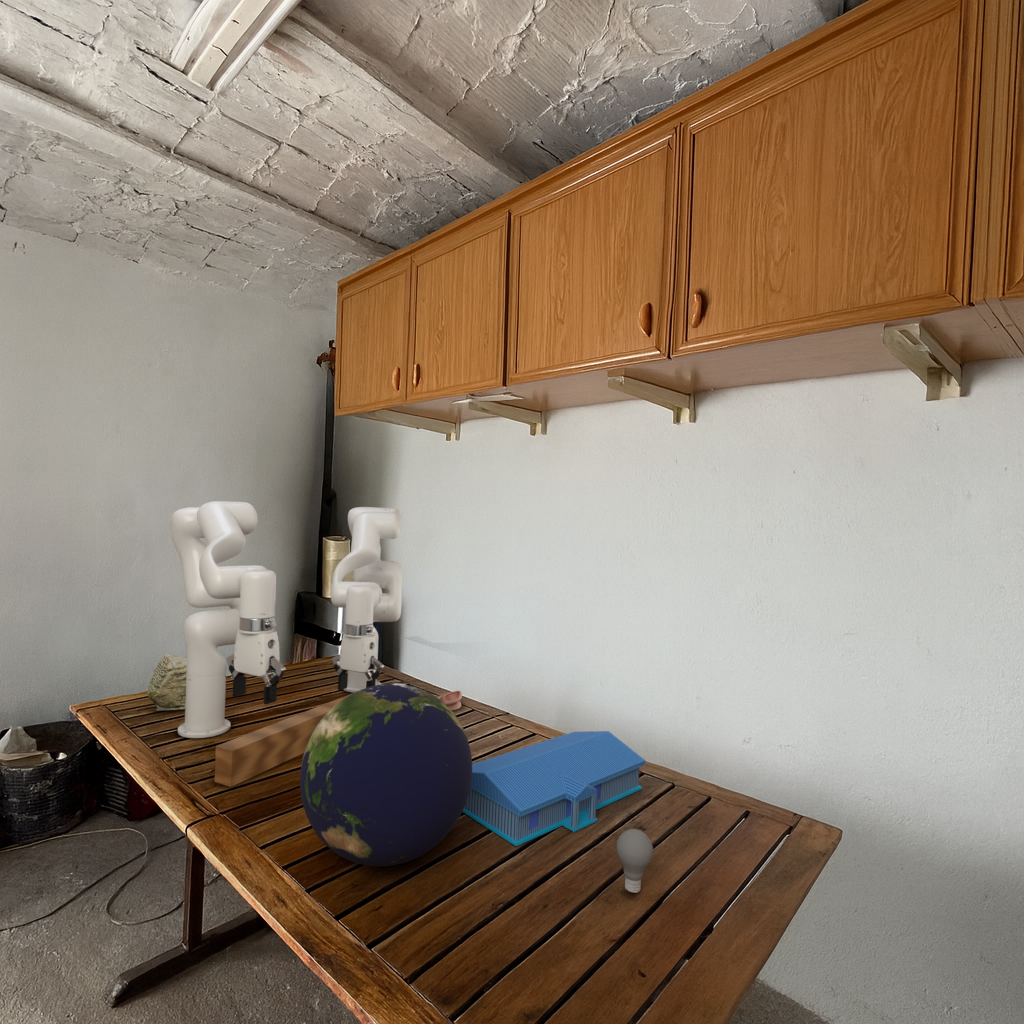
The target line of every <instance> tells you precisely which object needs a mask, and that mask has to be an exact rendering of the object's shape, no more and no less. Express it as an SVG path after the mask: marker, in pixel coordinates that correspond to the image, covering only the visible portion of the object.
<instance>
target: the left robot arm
mask: <svg viewBox="0 0 1024 1024" xmlns="http://www.w3.org/2000/svg"><path fill="white" fill-rule="evenodd" d="M258 517H259V516H258V512H257V510H256V508H255V507H254V506H253V505H252V504H251V503H249V502H246V501H230V500H229V501H227V500H213V501H208V502H205V503H203V504H202V505H200V506H191V507H184V508H183V507H182V508H179V509H177V510H176V511H174V512H173V514H172V515H171V517H170V523H169V524H170V526H169V527H170V529H169V530H170V536H171V540H172V543H173V546H174V548H175V551H176V552H177V554H178V556H179V559H180V561H181V562H180V563H181V571H182V578H183V585H184V593H185V598H186V602H187V603H188V605H189V606H190V607H192V608H195V609H200V608H201V609H204V608H205V609H206V608H207V609H208V608H219V607H221V608H222V607H229V608H227V609H226V608H225V609H212V610H203V611H198V612H194V613H192V614H190V615H189V616H187V618H186V619H185V620H184V623H183V635H184V641H185V642H184V643H185V651H186V652H185V653H186V657H187V668H186V701H185V709H184V722H182V724H180V725H179V726H178V727H177V734H178V735H179V736H180V737H182V738H188V739H207V738H212V737H216V736H220V735H222V734H224V733H227V732H228V731H230V729H231V727H232V725H231V723H232V722H231V721H230V720H228V719H226V718H225V715H226V692H227V691H226V689H227V665H228V670H229V672H230V674H231V675H230V678H231V679H232V697H233V698H236V697H239V696H243V695H245V694H246V692H247V691H246V690H247V676H245V675H248V676H253V677H259V678H262V680H263V681H264V683H265V685H266V686H265V685H264V687H263V705H270V704H272V703H275V702H276V701H277V696H278V695H277V693H278V692H277V691H278V685H280V682H281V681H282V680H283V678H284V675H285V674H286V670H287V669H286V667H285V665H284V664H282V663H281V661H280V660H281V658H280V640H279V636H278V631H277V630H275V628H276V626H277V622H276V598H277V575H276V573H275V571H273V570H271V569H268V568H266V566H263V565H260V564H259V565H258V564H257V565H256V564H254V565H253V564H252V565H224V566H221V565H220V566H219V564H221V563H223V562H226V561H229V560H230V559H233V558H234V557H237V556H238V555H240V553H241V552H243V550H244V549H245V547H246V542H247V539H246V536H247V535H251V533H253V532H254V531H256V529H257V526H258V522H259V518H258ZM201 539H205V542H206V543H207V544H205V543H204V542H203V541H202V540H201ZM230 645H231V646H232V645H234V652H233V654H231V655H230V656H229V655H228V656H227V657H226V659H225V657H224V656H223V655H222V653H220V651H218V647H223V646H224V647H225V646H230Z"/></svg>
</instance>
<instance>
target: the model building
mask: <svg viewBox="0 0 1024 1024" xmlns="http://www.w3.org/2000/svg"><path fill="white" fill-rule="evenodd" d="M645 765H646V759H644V758H643V757H642V756H640V755H639V754H638V753H637V752H636V751H634V750H633V749H632V748H631V747H629V746H628V745H627V744H625V742H623V741H622V740H620V739H619V738H618V737H617V736H616V735H614V734H613V733H612V732H610V731H609V730H595V731H593V730H592V731H591V730H590V731H572V732H569V733H566V734H563V735H560V736H559V735H558V736H556V737H553V738H551V739H547V740H543V741H541V742H537V743H535V744H530V745H528V746H525V747H522V748H519V749H515V750H513V751H509V752H506V753H503V754H500V755H496V756H493V757H490V758H487V759H483V760H481V761H477V762H474V763H472V780H471V786H470V791H469V795H468V798H467V802H466V804H465V807H464V809H463V811H462V814H465V815H467V816H468V817H470V818H471V819H473V820H474V821H476V822H478V823H479V824H481V825H482V826H484V827H485V828H486V829H488V830H490V831H491V832H493V833H494V834H496V835H498V836H499V837H501V838H502V839H503V840H505V841H507V842H509V843H510V844H512V845H514V846H515V847H518V846H519V847H520V845H523V844H525V843H527V842H530V841H532V840H535V839H536V838H538V837H540V836H543V835H545V834H547V833H549V832H551V831H553V830H556V829H558V828H560V827H565V828H566V829H568V830H569V831H572V832H573V833H576V832H578V831H579V830H583V829H584V828H586V827H588V826H591V825H593V824H595V823H597V822H598V821H599V818H597V816H596V814H597V810H599V809H601V808H604V807H606V806H608V805H610V804H612V803H615V802H617V801H619V800H621V799H624V798H626V797H628V796H630V795H632V794H634V793H636V792H638V791H639V792H640V791H641V790H643V786H642V785H640V768H641V767H644V766H645Z"/></svg>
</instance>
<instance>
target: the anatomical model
mask: <svg viewBox="0 0 1024 1024" xmlns="http://www.w3.org/2000/svg"><path fill="white" fill-rule="evenodd" d="M436 697H437V698H438V699H440V700H441V701H442V702H443V703H445V704H446V705H447V706H448V707H449V709H450V710H451V711H456V710H458V709H461V707H462V702H461V700H462V698H463V692H462V691H461V690H454V691H451V692H450V691H449V692H446V693H443V694H441V695H438V696H436Z"/></svg>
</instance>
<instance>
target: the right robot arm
mask: <svg viewBox="0 0 1024 1024" xmlns="http://www.w3.org/2000/svg"><path fill="white" fill-rule="evenodd" d="M347 524H348V529H349V532H350V535H351V545H350V552H349V553H348V554H346V556H344V557H343V558H342V559H341V560H340V561H339V562H338V564H337V565H336V567H335V569H334V570H333V571H334V572H333V574H332V580H331V581H332V582H331V589H330V600H331V603H332V605H333V606H334V607H336V608H339V609H340V608H341V609H342V608H343V609H344V608H345V620H344V633H343V635H342V639H341V643H340V650H339V654H337V655H335V656H333V657H332V658H331V661H332V664H333V668H334V670H335V672H336V673H335V674H336V675H337V676H338V677H337V678H338V680H337V690H338V691H342V690H343V691H345V692H347V693H351V694H352V693H355V692H357V691H360V690H362V689H365V688H368V687H371V686H375V685H381V684H382V683H381V682H380V681H379V680H378V678H379V677H380V676H381V675H382V672H383V670H384V668H385V665H384V664H383V663H382V662H381V661H380V660H378V659H379V658H378V657H379V633H378V631H377V628H375V626H374V623H394V622H395V623H396V622H397V621H399V619H400V618H401V617H402V615H401V614H402V606H403V604H402V603H403V600H402V599H403V569H402V566H401V564H400V563H399V562H398V561H394V560H382V559H381V553H382V552H381V551H382V546H381V539H382V540H383V539H384V540H395V539H397V538H398V537H399V536H400V534H401V531H402V514H401V511H400V510H399V509H398V508H394V507H378V506H377V507H374V506H357V507H352V508H351V509H350V510H349V511H348V514H347ZM352 572H353V581H343V580H344V578H345V577H346V576H347V575H348V574H350V573H352ZM383 590H386V591H387V592H383Z"/></svg>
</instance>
